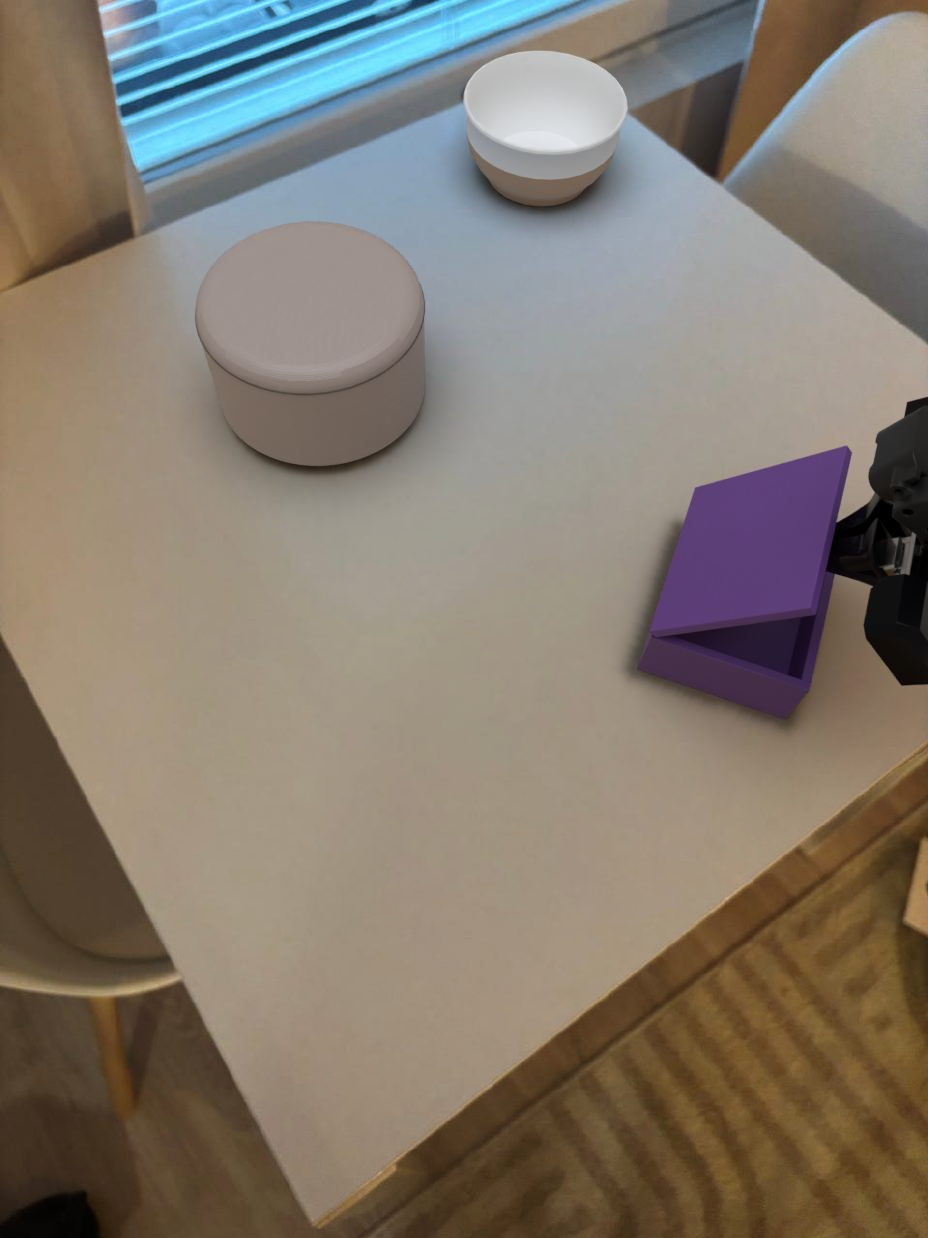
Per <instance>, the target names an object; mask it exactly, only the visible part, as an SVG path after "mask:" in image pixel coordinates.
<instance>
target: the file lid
mask: <svg viewBox="0 0 928 1238" xmlns="http://www.w3.org/2000/svg"><path fill="white" fill-rule="evenodd" d="M852 456H853V452H852V450H851V449H850V448H849V446H848V445H843V446H839V447H836V448H832V449H828V450H825V451H821V452H818V453H813V454H811V455H806V456H803V457H800V458H796V459H792V460H789V461H785V462H782V463H779V464H778V463H777V464H775V465H771V466H768V467H764V468H759V469H756V470H753V471H749V472H746V473H742V474H739V475H738V474H737V475H735V476H731V477H728V478H725V479H721V480H718V481H713V482H709V483H706V484H703V485H699V486H696V487H694V490H693V493H692V495H691V499H690V502H689V506H688V509H687V512H686V513H685V514H686V515H685V517H684V521H683V525H682V527H681V529H682V530H680V532H681V533H679V535H680V536H679V535H678V538H679V540H678V539H677V541H678V543H677V542H676V545H677V546H676V545H675V548H676V549H675V548H674V551H675V552H674V551H673V554H674V555H673V554H672V557H673V558H672V557H671V560H672V562H671V561H670V563H671V565H670V564H669V567H670V568H669V567H668V570H669V571H668V570H667V573H668V574H667V573H666V576H667V577H666V576H665V579H666V580H664V582H665V584H664V583H663V585H664V587H663V586H662V589H663V590H662V589H661V592H662V593H661V592H660V595H661V596H660V595H659V598H660V599H659V598H658V601H659V602H658V601H657V604H658V606H657V605H656V607H657V609H656V608H655V611H656V612H655V611H654V614H655V615H654V614H653V617H654V618H653V617H652V620H653V621H652V620H651V623H652V624H650V626H651V628H650V627H649V629H650V631H649V630H648V632H650V633H651V634H652V635H653V636H654V637H662V636H669V635H676V634H683V633H690V632H697V631H704V630H711V629H719V628H726V627H733V626H740V625H747V624H754V623H761V622H768V621H775V620H782V619H789V618H796V617H804V616H811V615H816V612H817V607H818V603H819V598H820V594H821V589H822V585H823V580H824V576H825V571H826V567H827V563H828V558H829V554H830V549H831V545H832V540H833V536H834V531H835V527H836V522H838V518H839V514H840V508H841V505H842V500H843V495H844V491H845V486H846V481H847V478H848V472H849V468H850V464H851V459H852Z"/></svg>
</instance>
